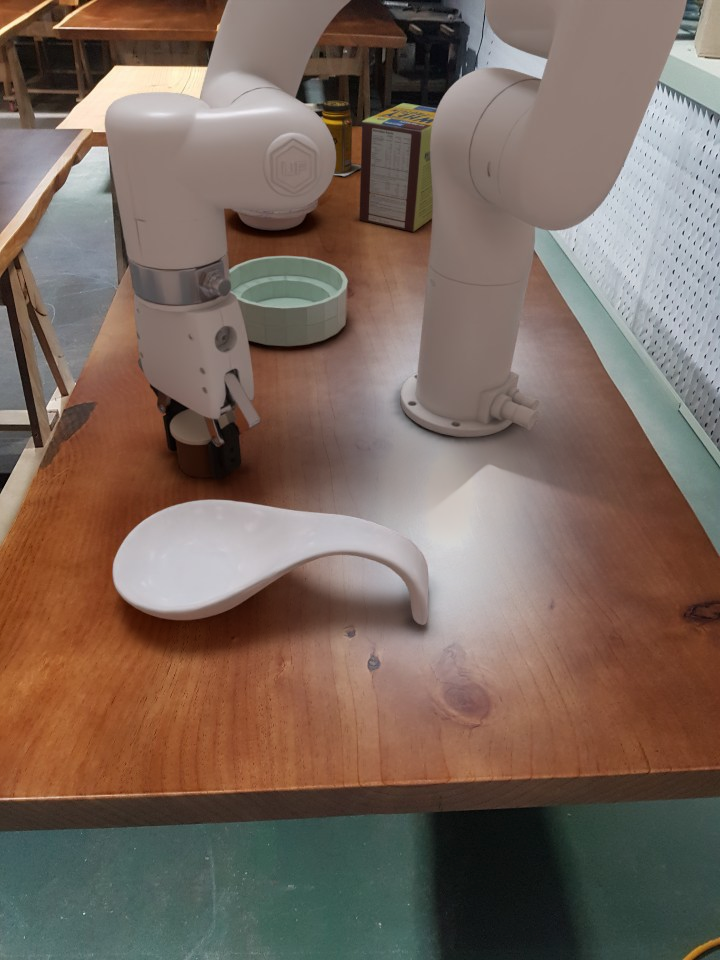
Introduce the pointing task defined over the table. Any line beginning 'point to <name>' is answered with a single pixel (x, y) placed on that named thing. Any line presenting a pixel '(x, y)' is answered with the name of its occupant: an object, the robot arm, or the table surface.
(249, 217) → the paper bowls
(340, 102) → the condiment
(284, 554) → the spoon rest
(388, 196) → the protein box
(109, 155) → the robot arm
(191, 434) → the coffee pod
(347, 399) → the table surface
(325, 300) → the bowl
